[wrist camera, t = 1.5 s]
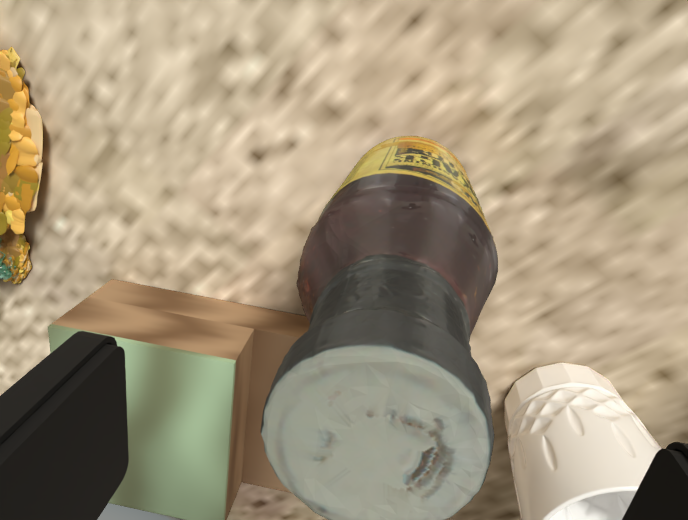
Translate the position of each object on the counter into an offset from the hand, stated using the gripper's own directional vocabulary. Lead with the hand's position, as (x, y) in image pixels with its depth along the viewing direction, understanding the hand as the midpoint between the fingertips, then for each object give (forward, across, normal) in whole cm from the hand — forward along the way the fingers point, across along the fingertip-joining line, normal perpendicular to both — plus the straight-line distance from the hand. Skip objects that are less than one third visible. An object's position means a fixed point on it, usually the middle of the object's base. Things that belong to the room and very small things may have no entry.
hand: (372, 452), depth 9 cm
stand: (+20, +6, +15) cm, 25 cm away
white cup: (+20, -13, +12) cm, 26 cm away
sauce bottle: (+20, -1, 0) cm, 20 cm away
